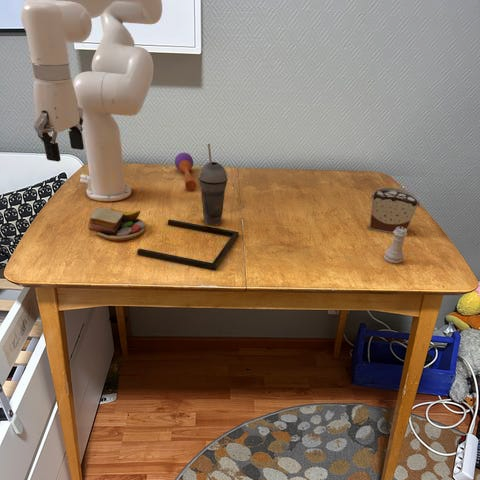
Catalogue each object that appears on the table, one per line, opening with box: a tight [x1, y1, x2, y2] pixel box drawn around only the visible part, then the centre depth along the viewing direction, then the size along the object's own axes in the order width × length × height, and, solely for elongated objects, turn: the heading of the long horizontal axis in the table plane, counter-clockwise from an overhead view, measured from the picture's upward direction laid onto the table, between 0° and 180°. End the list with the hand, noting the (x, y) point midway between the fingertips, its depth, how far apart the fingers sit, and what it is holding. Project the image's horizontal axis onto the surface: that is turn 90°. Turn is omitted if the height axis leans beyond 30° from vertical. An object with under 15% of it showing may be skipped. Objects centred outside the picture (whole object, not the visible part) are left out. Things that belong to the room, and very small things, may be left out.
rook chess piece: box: [383, 227, 408, 264], centre depth 110 cm, size 4×4×8 cm
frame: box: [136, 218, 240, 271], centre depth 113 cm, size 19×18×1 cm
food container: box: [368, 187, 421, 234], centre depth 123 cm, size 12×6×10 cm, turn 71°
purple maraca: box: [174, 152, 197, 192], centre depth 146 cm, size 6×6×20 cm
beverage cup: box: [198, 143, 228, 226], centre depth 118 cm, size 7×7×20 cm
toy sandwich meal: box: [87, 206, 147, 242], centre depth 116 cm, size 12×14×5 cm
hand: (66, 154), depth 109 cm, fingers open, 9 cm apart
